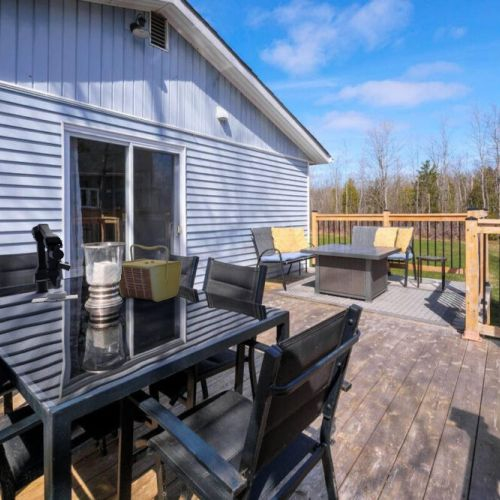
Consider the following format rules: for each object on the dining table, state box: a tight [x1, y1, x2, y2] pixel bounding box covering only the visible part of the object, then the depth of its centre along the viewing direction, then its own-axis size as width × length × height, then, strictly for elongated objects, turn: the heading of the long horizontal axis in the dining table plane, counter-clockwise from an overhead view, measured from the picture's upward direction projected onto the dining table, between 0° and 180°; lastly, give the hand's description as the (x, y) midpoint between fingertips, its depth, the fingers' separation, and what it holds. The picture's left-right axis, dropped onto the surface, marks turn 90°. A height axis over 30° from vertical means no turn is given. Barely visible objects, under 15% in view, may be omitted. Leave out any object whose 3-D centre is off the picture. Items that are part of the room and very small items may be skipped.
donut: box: [46, 290, 68, 299], centre depth 190 cm, size 10×4×10 cm
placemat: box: [31, 294, 79, 304], centre depth 189 cm, size 8×22×1 cm, turn 118°
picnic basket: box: [118, 243, 183, 303], centre depth 193 cm, size 29×26×30 cm
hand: (54, 286), depth 188 cm, fingers closed
